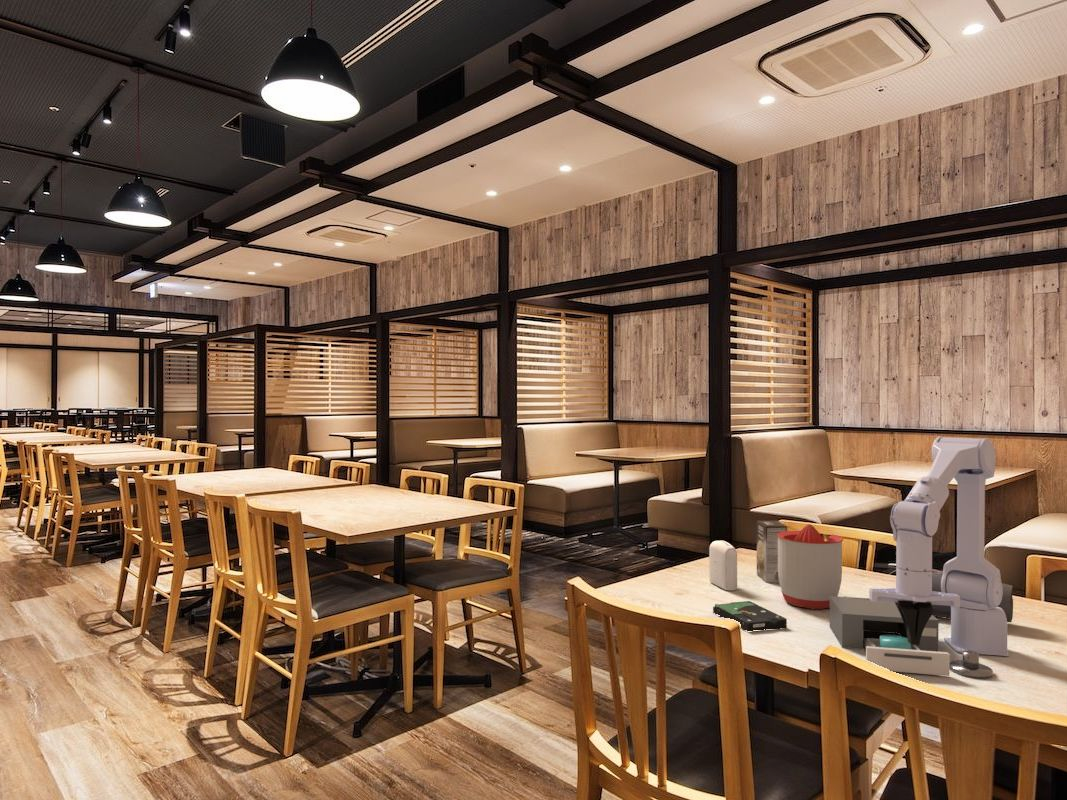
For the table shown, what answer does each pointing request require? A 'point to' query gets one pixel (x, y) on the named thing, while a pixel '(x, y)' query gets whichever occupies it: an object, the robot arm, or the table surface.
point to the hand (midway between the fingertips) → (913, 643)
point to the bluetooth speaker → (946, 610)
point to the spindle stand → (970, 666)
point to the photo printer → (723, 565)
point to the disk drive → (750, 616)
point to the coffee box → (768, 549)
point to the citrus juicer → (809, 567)
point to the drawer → (907, 659)
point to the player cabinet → (873, 622)
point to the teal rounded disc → (894, 642)
